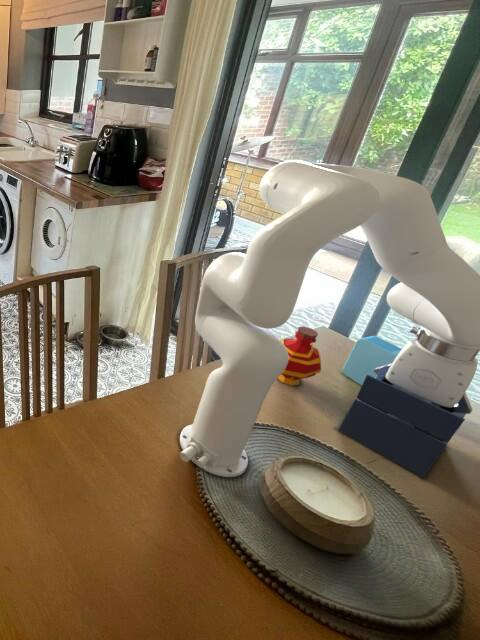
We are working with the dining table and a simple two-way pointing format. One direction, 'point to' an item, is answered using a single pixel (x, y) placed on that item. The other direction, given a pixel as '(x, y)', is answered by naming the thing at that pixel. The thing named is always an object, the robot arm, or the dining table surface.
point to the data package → (369, 357)
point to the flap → (410, 408)
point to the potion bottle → (301, 357)
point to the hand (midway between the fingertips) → (404, 414)
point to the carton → (393, 436)
